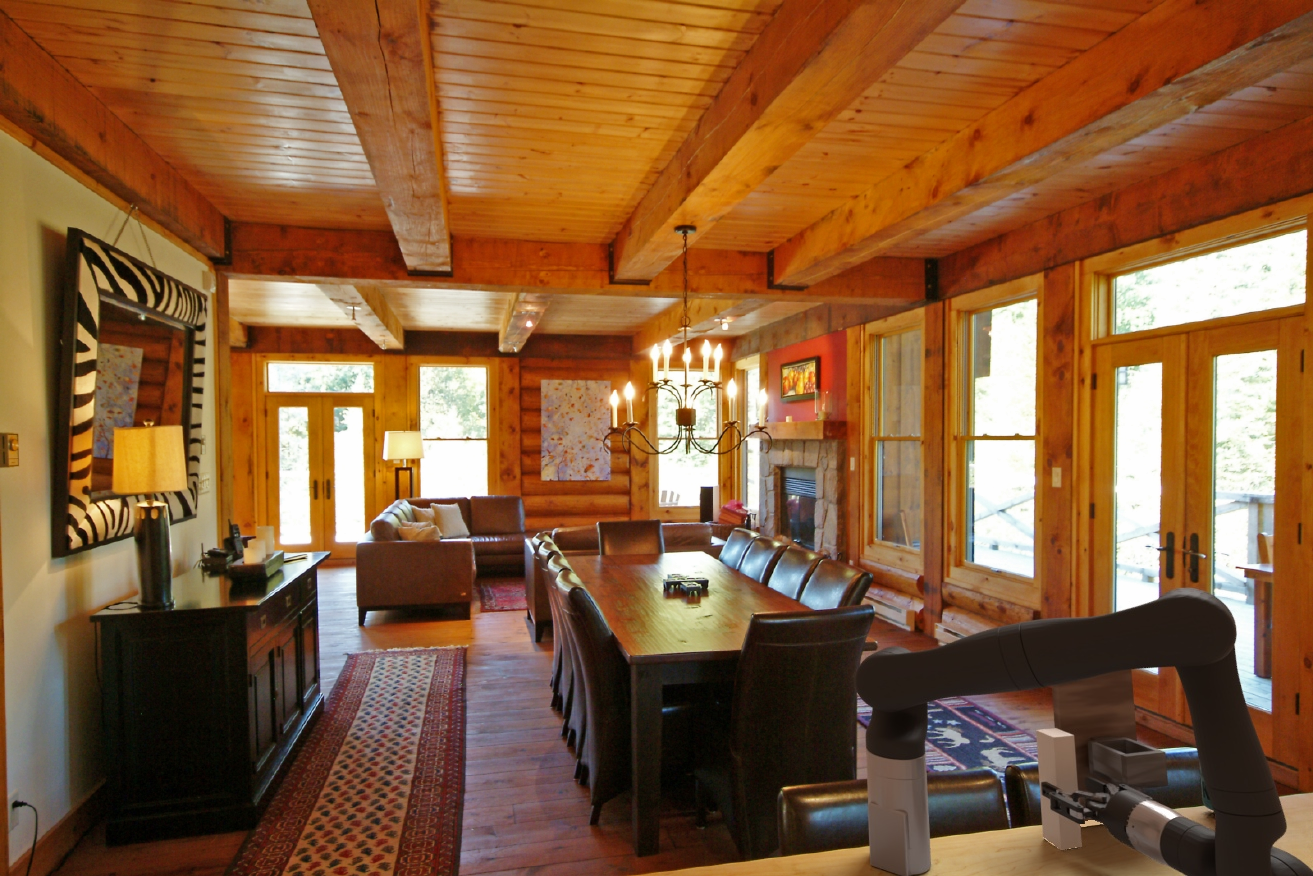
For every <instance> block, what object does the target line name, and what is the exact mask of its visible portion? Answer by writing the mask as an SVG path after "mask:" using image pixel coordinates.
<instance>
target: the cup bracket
mask: <svg viewBox="0 0 1313 876" xmlns="http://www.w3.org/2000/svg"><path fill="white" fill-rule="evenodd" d="M1132 670H1133V669H1131V670H1122V671H1116V672H1111V673H1107V674H1103V675H1099V676H1095V677H1091V678H1087V679H1083V680H1078V681H1074V682H1069V683H1064V684H1059V685H1054V686H1051V691H1052V692H1051V695H1052V708H1053V722H1054V723H1053V724H1054V728H1057V729H1059V730H1062V731H1064V732H1067V733H1069V734H1072V735H1074V742H1075V756H1076V770H1077V784H1078V790H1079V791H1083V792H1088V793H1092V792H1090V791H1088V790H1087V789H1086V784H1085V778H1086V777H1092V778H1094V779H1097V780H1099V781H1101V782H1103V783H1105V784H1113V785H1115V787H1119V784H1125V785H1127V786H1129V787H1131V788H1133V789H1135V790H1137V791H1139V792H1141V793H1142V790H1146V789H1152V788H1160V787H1161V788H1162V787H1168V786H1169V778H1168V767H1167V754H1166V753H1167V752H1166V751H1164V750H1161V749H1159V748H1155V747H1152V746H1151V745H1148V744H1144V743H1142V742H1139V741H1138V737H1137V724H1136V721H1137V720H1136V710H1135V698H1134V684H1133V673H1132V672H1133V671H1132ZM1092 794H1094V793H1092ZM1080 805H1082V806H1083V807H1084V808H1085V798H1083V797H1080ZM1084 820H1085V821H1088V820H1093V819H1091V818H1085V819H1084Z"/></svg>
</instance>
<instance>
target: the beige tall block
mask: <svg viewBox="0 0 1313 876" xmlns="http://www.w3.org/2000/svg"><path fill="white" fill-rule="evenodd" d="M1035 733H1036V734H1035V737H1036V749H1037V750H1036V751H1037V762H1038V763H1037V765H1038V779H1039V794H1040V795H1039V797H1040V809H1041V810H1040V812H1041V825H1042V826H1041V827H1042V838H1043V837H1044V838H1046V839H1047V840H1048V841H1049V842H1051V843H1053V844H1054V845H1055V846H1056V847H1058V848H1059V849H1060V850H1059V849H1058V848H1057V849H1058V850H1059V851H1061V850H1064V851H1068V850H1067V849H1069V848H1075V847H1082V848H1083V844H1082V843H1083V841H1082V830H1081V829H1082V828H1081V826H1080V824H1078V823H1076V822H1074V821H1072V820H1070V819H1068V818H1066V817H1064V816H1062V815H1060V814H1058V813H1056V812H1054V811H1052V810H1051V809H1050V799H1048V798H1047V797H1045V796H1043V795H1042V792H1041V782H1048V783H1050V784H1052V785H1054V786H1056V787H1058V788H1060V789H1061V790H1064V791H1069V792H1074V791H1075V790H1078V784H1077V770H1076V756H1075V742H1074V735H1072V734H1069V733H1067V732H1064V731H1062V730H1059V729H1057V728H1055V727H1053V728H1043V729H1036V730H1035ZM1066 798H1068V799H1070V800H1072V801H1073V799H1072V798H1070V797H1066ZM1056 847H1055V848H1056ZM1065 849H1066V850H1065Z"/></svg>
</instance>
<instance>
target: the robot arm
mask: <svg viewBox="0 0 1313 876" xmlns="http://www.w3.org/2000/svg"><path fill="white" fill-rule="evenodd" d="M1237 635H1238V631H1237V625H1236V620H1235V618H1234V614H1233V613H1232V611H1231V610H1230V608H1229V607H1228V606H1227V605H1226V604H1225V603H1224V602H1223V601H1222V600H1221V599H1220V598H1218V597H1217V596H1215V595H1214V594H1212V593H1210V592H1207V591H1205V590H1201V589H1198V588H1195V587H1179V588H1178V587H1177V588H1175V589H1171V590H1169V591H1166V592H1165V593H1164V594H1162V595H1160V596H1159V597H1158V598H1157V599H1154V600H1152V601H1149V602H1147V603H1143V604H1139V605H1136V606H1132V607H1128V608H1125V609H1122V610H1117V611H1114V612H1110V613H1106V614H1102V615H1095V616H1085V617H1084V616H1081V617H1079V616H1078V617H1055V618H1041V619H1035V620H1034V619H1032V620H1028V621H1027V620H1026V621H1021V622H1017V623H1012V624H1007V625H1002V626H997V627H993V628H990V629H986V630H983V631H980V632H976V633H973V634H970V635H968V636H965V637H961V638H959V639H957V640H954V641H952V642H949V643H946V644H944V645H941V646H938V647H934V648H930V649H925V650H919V651H910V650H909V649H907V648H905V647H902V646H897V645H895V646H887V647H885V648H882V649H880V650H878V651H876V652H873V653H872V654H870V655H868V656H867V657H866V658H865V659H863V661H862V662H860V664H859V666H858V667H857V669H856V671H855V674H854V689H855V691H856V693H857V695H858V697H859V698H860V699H861V700H862V701H863V702H864V703H865V704H866V705H867V706H869V707H870V708H872V711H871V716H870V719H869V723H868V725H867V727H866V731H865V753H866V754H865V757H866V778H867V779H866V780H867V801H868V802H867V803H868V804H867V816H868V822H867V823H868V838H869V839H868V845H869V858H870V859H869V863H870V866H873V867H874V868H878V869H881V870H884V871H887V872H889V873H893V874H896V875H898V876H913V875H920V874H924V873H926V872H927V871H929V870H930V869H931V867H932V855H931V839H930V838H931V836H930V820H929V819H930V817H929V801H928V798H929V797H928V796H929V795H928V777H927V759H926V757H927V756H926V741H927V740H926V739H927V735H928V732H929V730H928V729H929V727H928V726H929V707H928V705H929V703H930V702H935V701H938V700H939V701H940V700H944V699H949V698H957V697H970V696H971V697H972V696H984V695H992V694H993V695H995V694H1003V693H1011V692H1012V693H1015V692H1021V691H1028V690H1035V689H1041V688H1047V687H1052V686H1054V685H1059V684H1064V683H1069V682H1074V681H1078V680H1083V679H1087V678H1091V677H1095V676H1099V675H1103V674H1107V673H1111V672H1116V671H1122V670H1142V669H1143V670H1145V669H1154V668H1156V669H1157V668H1171V667H1172V668H1175V670H1176V673H1177V676H1178V677H1179V680H1180V683H1181V687H1182V689H1183V692H1184V695H1185V698H1186V699H1185V700H1186V703H1187V705H1188V711H1189V715H1190V720H1191V724H1192V731H1193V736H1194V742H1195V746H1196V751H1197V757H1199V758H1198V762H1199V761H1200V764H1199V765H1200V766H1201V770H1202V773H1203V777H1204V781H1205V784H1206V788H1207V791H1208V794H1209V798H1210V801H1211V805H1212V808H1213V810H1212V811H1213V814H1214V816H1215V817H1214V820H1215V829H1214V830H1213V829H1212V828H1211V827H1210V828H1209V827H1207V826H1205V825H1203V824H1201V823H1198V822H1196V821H1195V820H1192V819H1190V818H1188V817H1186V816H1184V815H1183V814H1182V813H1180V812H1178V811H1176V810H1174V809H1173V808H1170V807H1168V806H1166V805H1164V804H1161V803H1159V802H1158V801H1156V800H1153V797H1151V796H1149V795H1148V794H1146V793H1143V792H1142V791H1141V792H1139V791H1137V790H1135V789H1133V788H1131V787H1129V786H1127V785H1125V784H1119V787H1115V785H1113V784H1105V783H1103V782H1101V781H1099V780H1097V779H1094V778H1092V777H1086V778H1085V784H1086V789H1087V790H1088V791H1090V792H1092V793H1094V794H1092V793H1088V792H1083V791H1079V790H1075V791H1074V792H1069V791H1064V790H1061V789H1060V788H1058V787H1056V786H1054V785H1052V784H1050V783H1048V782H1041V792H1042V795H1043V796H1045V797H1047V798H1048V799H1050V809H1051V810H1052V811H1054V812H1056V813H1058V814H1060V815H1062V816H1064V817H1066V818H1068V819H1070V820H1072V821H1074V822H1076V823H1078V824H1085V820H1084V819H1085V818H1091V819H1093V820H1095V821H1097V822H1100V823H1103V824H1104V825H1103V826H1105V828H1106V829H1107V831H1108V832H1109V834H1110V835H1111V836H1112V837H1113V838H1114V839H1115V840H1117V841H1118V842H1121V843H1123V844H1124V845H1126V846H1127V847H1129V848H1132V849H1133V850H1135V851H1136V852H1139V854H1142V855H1144V856H1146V857H1147V858H1149V859H1150V860H1153V861H1155V862H1157V863H1159V864H1162V865H1164V866H1166V867H1170V868H1171V869H1173V870H1175V871H1176V872H1179V873H1180V874H1182V875H1184V876H1313V870H1312V868H1311V867H1310V866H1308V865H1307V864H1306V863H1305V862H1304V861H1302V860H1300V859H1299V858H1298V857H1297V856H1295V855H1293V854H1291V853H1290V852H1287V851H1286V850H1283V849H1280V848H1279V847H1276V846H1274V845H1275V843H1277V842H1278V841H1279V839H1281V838H1282V837H1283V836H1285V834H1286V833H1287V828H1288V827H1287V819H1286V816H1285V812H1284V809H1283V805H1282V802H1281V799H1280V797H1279V793H1278V790H1277V786H1276V784H1275V780H1274V777H1273V774H1272V772H1271V768H1270V766H1269V763H1268V760H1267V757H1266V754H1265V751H1264V748H1263V747H1262V744H1261V741H1260V739H1259V735H1258V733H1257V730H1256V728H1255V725H1254V723H1253V720H1252V717H1251V714H1250V711H1249V708H1248V706H1247V705H1248V704H1247V703H1246V702H1247V701H1246V699H1245V695H1244V691H1243V688H1242V683H1241V680H1240V679H1241V678H1240V674H1239V669H1238V662H1237V655H1236V654H1237V653H1236V642H1237ZM1200 766H1199V767H1200ZM1066 797H1070V798H1072V799H1073V801H1072V800H1070V799H1068V798H1066ZM1080 797H1083V798H1085V808H1084V807H1083V806H1082V805H1080Z"/></svg>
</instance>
